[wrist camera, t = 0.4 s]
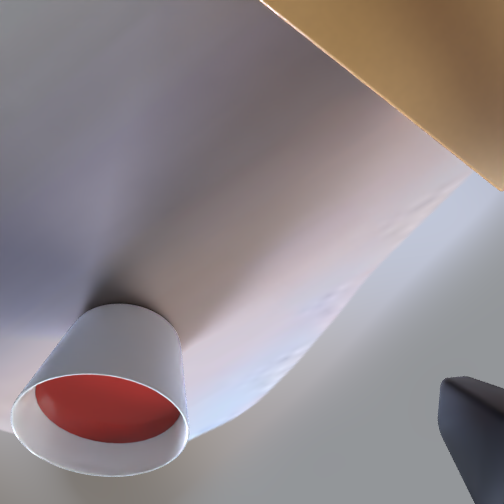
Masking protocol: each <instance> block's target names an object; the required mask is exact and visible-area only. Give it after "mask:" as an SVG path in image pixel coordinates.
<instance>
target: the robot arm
mask: <svg viewBox="0 0 504 504" xmlns="http://www.w3.org/2000/svg"><path fill="white" fill-rule="evenodd" d="M438 425H439V430H440V433H441V435H442V438H443V440H444V442H445V444H446V446H447V448H448V450H449V452H450V454H451V456H452V458H453V460H454V462H455V464H456V466H457V468H458V470H459V472H460V474H461V476H462V478H463V480H464V482H465V484H466V486H467V489H468V490H469V492H470V494H471V497H472V499H473V501H474V503H475V504H504V389H503V388H500V387H497V386H494V385H491V384H489V383H485V382H482V381H480V380H476V379H474V378H471V377H465V376H463V377H453V378H445V379H444V380H443V381H442V383H441V387H440V397H439V409H438Z"/></svg>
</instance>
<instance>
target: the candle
mask: <svg viewBox="0 0 504 504" xmlns="http://www.w3.org/2000/svg"><path fill="white" fill-rule="evenodd" d="M11 425H12V428H13V431H14V433H15V435H16V436H17V438H18V439H19V440H20V442H21V443H22V444H23V445H24V446H25V447H26V448H27V449H28V450H30V451H31V452H32V453H34V454H35V455H36V456H38V457H40V458H41V459H43V460H45V461H47V462H49V463H51V464H53V465H56V466H58V467H60V468H63V469H66V470H70V471H73V472H77V473H82V474H87V475H95V476H109V477H115V476H116V477H117V476H130V475H136V474H141V473H146V472H149V471H152V470H155V469H158V468H160V467H162V466H164V465H166V464H168V463H170V462H171V461H173V460H174V459H175V458H176V457H177V456H178V455H179V454H180V453H181V452H182V451H183V449H184V448H185V446H186V444H187V441H188V438H189V421H188V410H187V399H186V389H185V378H184V368H183V358H182V350H181V344H180V340H179V337H178V334H177V332H176V331H175V329H174V328H173V326H172V325H171V324H170V323H169V322H168V321H167V320H166V319H164V318H163V317H162V316H160V315H159V314H157V313H155V312H153V311H151V310H149V309H146V308H143V307H140V306H136V305H131V304H108V305H103V306H99V307H96V308H93V309H91V310H89V311H87V312H86V313H84V314H83V315H82V316H80V317H79V318H78V319H77V320H76V321H75V323H74V324H73V325H72V326H71V327H70V329H69V330H68V331H67V333H66V334H65V335H64V336H63V338H62V339H61V340H60V342H59V343H58V344H57V346H56V347H55V348H54V350H53V351H52V352H51V354H50V355H49V356H48V357H47V359H46V360H45V361H44V363H43V364H42V365H41V367H40V368H39V369H38V371H37V372H36V373H35V375H34V376H33V377H32V379H31V380H30V381H29V383H28V384H27V385H26V387H25V388H24V389H23V391H22V392H21V393H20V395H19V396H18V397H17V399H16V401H15V402H14V404H13V407H12V410H11Z"/></svg>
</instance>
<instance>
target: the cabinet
mask: <svg viewBox="0 0 504 504" xmlns="http://www.w3.org/2000/svg"><path fill="white" fill-rule="evenodd" d="M259 1H260V2H261V3H263V4H264V5H265V6H266V7H268V8H269V9H270V10H271V11H273V12H274V13H275V14H276V15H278V16H279V17H280V18H282V19H283V20H284V21H285V22H287V23H288V24H289V25H290V26H292V27H293V28H294V29H295V30H297V31H298V32H299V33H301V34H302V35H303V36H304V37H306V38H307V39H308V40H309V41H311V42H312V43H313V44H314V45H316V46H317V47H318V48H320V49H321V50H322V51H323V52H325V53H326V54H327V55H328V56H330V57H331V58H332V59H333V60H335V61H336V62H337V63H339V64H340V65H341V66H342V67H344V68H345V69H346V70H347V71H349V72H350V73H351V74H352V75H354V76H355V77H356V78H357V79H359V80H360V81H361V82H363V83H364V84H365V85H366V86H368V87H369V88H370V89H371V90H373V91H374V92H375V93H376V94H378V95H379V96H380V97H382V98H383V99H384V100H385V101H387V102H388V103H389V104H390V105H392V106H393V107H394V108H395V109H397V110H398V111H399V112H401V113H402V114H403V115H404V116H406V117H407V118H408V119H409V120H411V121H412V122H413V123H414V124H416V125H417V126H418V127H420V128H421V129H422V130H423V131H425V132H426V133H427V134H428V135H430V136H431V137H432V138H433V139H435V140H436V141H437V142H439V143H440V144H441V145H442V146H444V147H445V148H446V149H447V150H449V151H450V152H451V153H452V154H454V155H455V156H456V157H458V158H459V159H460V160H461V161H463V162H464V163H465V164H466V165H468V166H469V167H470V168H471V169H473V170H474V171H475V172H477V173H478V174H479V175H480V176H482V177H483V178H484V179H485V180H487V181H488V182H489V183H491V184H492V185H493V186H494V187H496V188H497V189H498V190H499V191H504V0H259Z"/></svg>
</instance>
